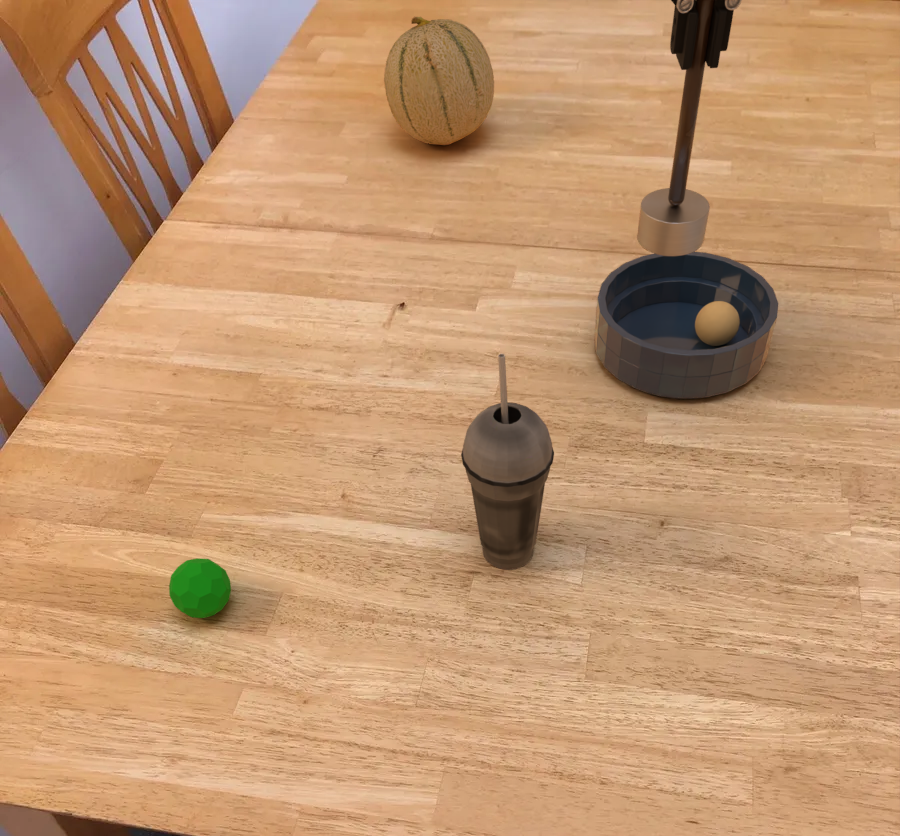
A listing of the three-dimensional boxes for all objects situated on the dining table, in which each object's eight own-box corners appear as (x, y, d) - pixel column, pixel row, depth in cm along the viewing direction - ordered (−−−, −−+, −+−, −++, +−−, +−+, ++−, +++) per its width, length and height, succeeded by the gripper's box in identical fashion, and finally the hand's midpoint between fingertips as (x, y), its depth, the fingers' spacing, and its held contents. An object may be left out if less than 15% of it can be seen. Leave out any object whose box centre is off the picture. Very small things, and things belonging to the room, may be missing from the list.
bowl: (746, 296, 102) (757, 246, 97) (782, 400, 91) (796, 350, 87) (586, 304, 103) (590, 255, 98) (603, 408, 92) (607, 359, 87)
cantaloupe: (488, 166, 123) (485, 44, 111) (380, 163, 125) (366, 43, 113) (501, 114, 132) (500, -5, 120) (401, 112, 134) (390, -5, 122)
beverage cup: (481, 591, 79) (473, 408, 63) (456, 531, 83) (443, 346, 67) (561, 569, 80) (573, 384, 64) (533, 511, 84) (538, 324, 68)
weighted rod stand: (697, 218, 86) (740, -38, 70) (709, 254, 82) (758, -7, 66) (632, 222, 86) (661, -32, 70) (641, 258, 82) (673, -2, 66)
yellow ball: (730, 327, 98) (738, 291, 94) (738, 353, 95) (747, 317, 91) (688, 329, 98) (695, 293, 94) (695, 355, 95) (702, 319, 92)
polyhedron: (248, 602, 79) (235, 566, 75) (203, 638, 77) (187, 603, 73) (211, 574, 81) (196, 538, 78) (167, 608, 79) (149, 572, 76)
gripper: (851, -275, 60) (785, 35, 74) (610, -257, 61) (591, 48, 75) (886, -249, 55) (808, 76, 70) (625, -230, 56) (601, 89, 70)
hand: (696, 60), depth 72 cm, fingers closed on weighted rod stand, 1 cm apart
